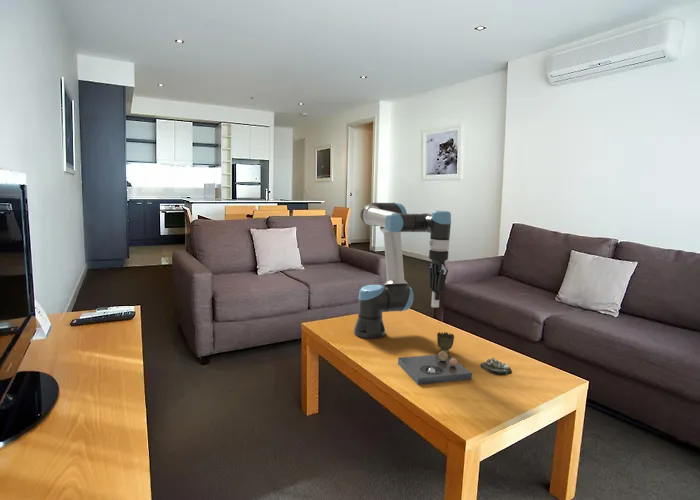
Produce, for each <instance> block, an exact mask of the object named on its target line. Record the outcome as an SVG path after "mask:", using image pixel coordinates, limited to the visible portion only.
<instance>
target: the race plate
mask: <svg viewBox="0 0 700 500" xmlns="http://www.w3.org/2000/svg"><path fill="white" fill-rule="evenodd" d="M451 358H453V356H451V355H449V354H448V359H447V360H446V361H441V360H439V358H438V354H429V355H428V354H427V355H418V356H403V357H398V358H397V365H399V367H401V369H402V370H403V371H404V372H405V373H406V374H407V375H408V376H409V377H410V378H411V379H412V380H413V382H414V383H416V384H417V386H419V385H429V384H439V383H449V382H459V381H469V380H472V379H473V377H472V376H473V373H472V372H471V371H470V370H469V369H468V368H466V367H465V366H464V365H462V364H461V363H460V362H458V364H457V365H456V366H455V367H453V366H451V365H450V364H449V360H450V359H451ZM429 368H434V369H435V370H436V372H435V373H431V372H427V370H428V369H429Z"/></svg>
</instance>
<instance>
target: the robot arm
mask: <svg viewBox="0 0 700 500" xmlns="http://www.w3.org/2000/svg"><path fill="white" fill-rule="evenodd" d="M361 208H362V209H360V213H359V216H360V220H361V221H362V223H364V224H365V225H368V226H373V227H375V226H376V227H379V228H380V232H381V233H382V234H383V243H384V255H385V256H384V258H385V259H384V260H385V270H386V271H385V272H386V282H385V283H384V284H383V285H380V284H369V285H364V286H362V287H360V289H359V292H358V293H359V294H358V314H357V317H358V318H357V319H356V322H355V325H354V328H353V333H354V335H355V336H356V337H360V338H362V339H380V338H382V337H384V336H385V335H386V328H385V324H384V321H383V313H388V312H390V313H391V312H392V313H393V312H403V311H408V310H409V309H410V308H411V307H412V305H413V301H414V292H413V289H412V288H411V287H410V286H409V285H408V282H407V281H406V279H405V272H404V259H403V243H402V233H430V234H429V235H430V239H429V240H430V241H429V242H428V243H429V251H428V259H430V260H431V263H428V265H427V266H428V267H427V268H428V277H429V279H428V280H429V281H428V282H429V288H430V290H431V291H432V292H431V304H430V307H431V308H434V309H435V308H440V300H441V299H440V298H441V297H440V296H441V295H440V294H441V293H442V292H443V293H444V289H445V284H446V279H447V275H448V272H449V270H448V269H446V263H445V262H446V261H448V260H449V253H450V252H449V249H450V237H451V226H452V213H451V212H450V211H448V210H433V211H432V212H431V214H430V213H424V212H423V213H407V209H406V207H405V206H404V205H403V204H402V203H398V202H397V203H395V202H370V203H367V204H366V205H364V206H363V207H361Z"/></svg>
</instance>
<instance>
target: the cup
mask: <svg viewBox="0 0 700 500" xmlns="http://www.w3.org/2000/svg"><path fill="white" fill-rule="evenodd" d="M436 341H437V342H436V343H437V346H438V348H439V349H440V352H441V351H445V352H447V354H449V352H450V350H451V349H452V348H453V346H454V341H455V335H454V334H453V333H451V332H449V333H448V332H446V331H444V332H443V331H442V332H440V331H439V332H438V333H437V334H436Z"/></svg>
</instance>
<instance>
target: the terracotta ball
mask: <svg viewBox="0 0 700 500" xmlns="http://www.w3.org/2000/svg"><path fill="white" fill-rule="evenodd" d="M458 363H459V362H458V359H456V358H455V357H452V358H451V359H450V360H449V364H450V365H451V366H453V367H455V366H456V365H457V364H458Z"/></svg>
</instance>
